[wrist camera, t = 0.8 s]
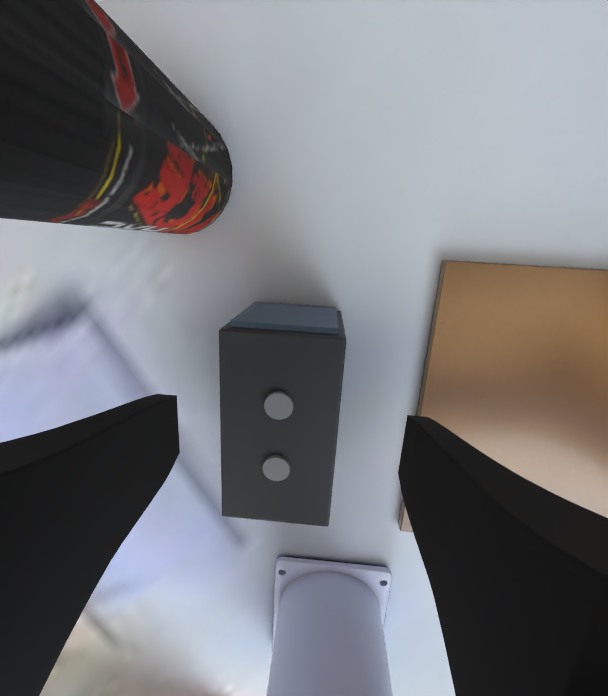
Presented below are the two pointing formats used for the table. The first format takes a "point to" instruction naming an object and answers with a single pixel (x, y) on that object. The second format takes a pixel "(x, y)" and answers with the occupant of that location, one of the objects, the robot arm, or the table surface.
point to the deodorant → (99, 128)
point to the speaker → (280, 411)
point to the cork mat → (524, 372)
